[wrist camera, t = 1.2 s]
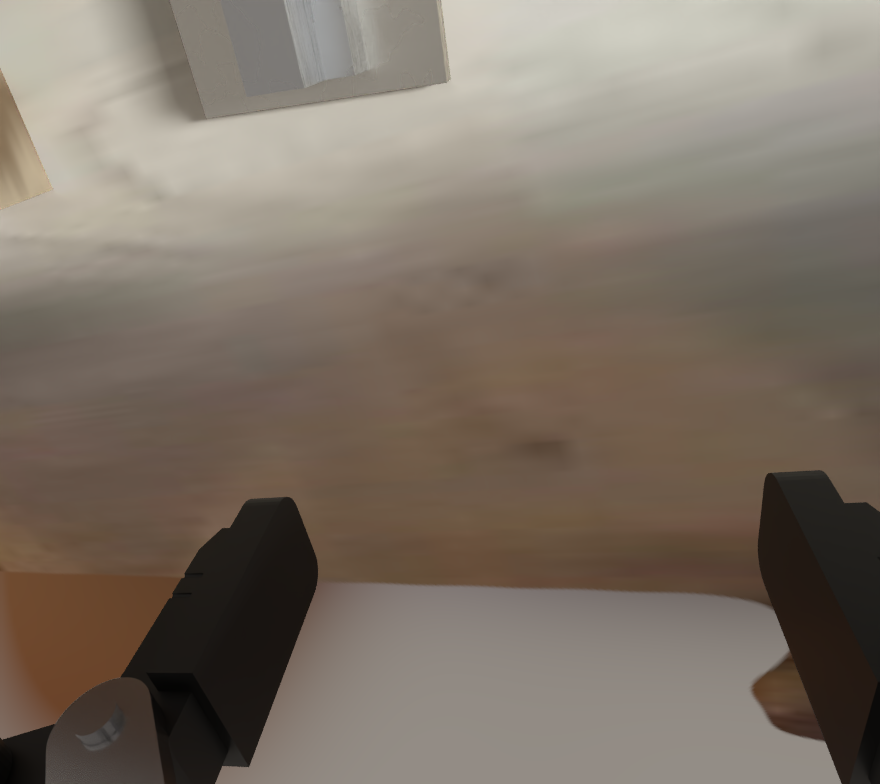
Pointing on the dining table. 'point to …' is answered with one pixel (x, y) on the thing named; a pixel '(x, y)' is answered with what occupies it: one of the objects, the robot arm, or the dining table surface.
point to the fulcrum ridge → (308, 50)
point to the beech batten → (17, 155)
